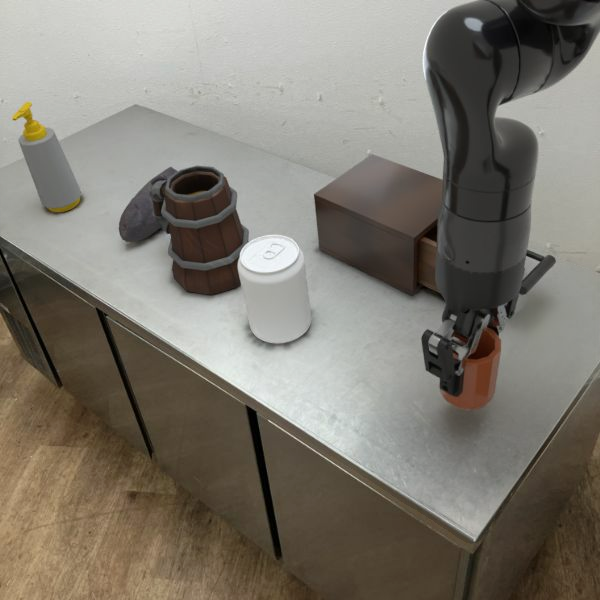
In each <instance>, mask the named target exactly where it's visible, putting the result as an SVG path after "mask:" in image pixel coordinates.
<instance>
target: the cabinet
mask: <svg viewBox="0 0 600 600" xmlns="http://www.w3.org/2000/svg"><path fill="white" fill-rule="evenodd" d="M442 182H443V178H442V179H441V178H439V177H436V176H434V175H431V174H428V173H426V172H423V171H420V170H417V169H415V168H412V167H409V166H406V165H404V164H401V163H398V162H395V161H393V160H390V159H387V158H384V157H382V156H378V155H376V154H373V153H371V154H370V155H368V156H367V157H365V158H363V160H361V161H359V162H358V163H356V164H355V165H354V166H353V167H351V168H349V169H348V170H347V171H345V172H344V173H342V174H341V175H340V176H338V177H336V178H335V179H333V180H332V181H331V182H330V183H327V184H326V185H325V186H323V187H322V188H320V189H319V190H318V191H316V192H314V194H313V198H314V209H315V210H314V211H315V219H316V231H317V240H318V250H319V251H321V252H322V253H325V254H327V255H329V256H331V257H333V258H335V259H336V260H339V261H340V262H343V263H345V264H347V265H349V266H351V267H353V268H355V269H357V270H359V271H361V272H363V273H365V274H367V275H369V276H371V277H372V278H375V279H377V280H379V281H381V282H384V284H387V285H389V286H392V287H394V288H395V289H397V290H400V291H401V292H403V293H405V294H407V295H410V296H411V297H413V296H415V295H416V294H417V293H418V292H419V291H421V289H422V288H423V287H425V286H424V285H422V284H420V283H418V282H417V259H418V240H419V239H420V238H421V237H422V236H423V235H425V234H426V233H427V232H428V231H429V230H431V229H432V228H433V227H434V226H435V225H437V223H438V215H439V210H440V205H441V199H442Z"/></svg>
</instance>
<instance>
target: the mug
mask: <svg viewBox="0 0 600 600" xmlns="http://www.w3.org/2000/svg"><path fill="white" fill-rule="evenodd" d="M177 171H178V172H176V173H175V174H174V175H172V176H171V177H169V178H168V180H167V181H166V180H164V181H162V180H160V181H158V182H156V183H154V184H153V185H152V187H151V191H150V194H149V197H150V198H151V199H152V201H153V207H154V211H153V214H152V215H153V217H154V219H155V221H156V222H157V224H158V225H159V226H160V227H161V228H160V229H161V230H163V232H164V233H165V234H166V235H170V240H169V244H168V248H167V255H168V256H169V257H170V258H171V259H172V265H171V272H172V275H173V278H174V280H175V281H176V282H177V283H178V284H179V285H180V286H181V287H182V288H183V289H184V290H185V291H186V292H189V293H195V294H196V293H197V294H204V295H211V296H213V295H214V294H219V293H222V292H225V291H229V290H232V289H235V288H238V287H239V286H241V282H240V277H239V272H238V260H239V258H240V252H241V250H242V248H243V247H244V246H245V245H246V244H247V243H248V242H250V241H249V236H250V231H249V229H248V228H247V227H246V226H245V225H243V224H242V222H241V219H240V217H239V213H238V210H237V203H238V191H236V190H235V189H234V188H233V187H231V186H230V185H229V182H228V179H227V177H226V176H225V174H224V173H223V172H221V171H220V170H219V169H217V168H216V167H214V166H209V165H194V166H190V167H185V168H182V169H179V170H177Z"/></svg>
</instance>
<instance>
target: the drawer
mask: <svg viewBox="0 0 600 600" xmlns="http://www.w3.org/2000/svg"><path fill="white" fill-rule="evenodd" d="M436 246H437V225H435V226H434V227H433V228H432V229H431V230H429V231H428V232H427V233H426V234H425V235H423V236H422V237H421V238H420V239H419V240H418V259H417V282H418V283H420V284H422V285H424V286H423V287H426V288H428V289H430V290H432V291H434V292H437V293H438V294H441V293H440V291H439V289H438V287H437V285H436V281H435V269H436ZM527 257H528V258H529V259H532V260H534V261H537V262H538V264H537V265H535V267H533V269H532V270H531V271H530V272H529V273H528V274H527V275H526V276H525V277H523V280H522V285H521V288H520V292H519V295H522V296H524V295H527V294H528V293H529V292H530V291H531V289H533V288H534V286H535V285H537V283H538V282H540V280H541V279H542V278H543V277H544V276H545V275H546V274H547V273H548V272H549V271H550V269H552V267H553V266H555V264H556V262H557V259H556V257H554V256H553V255H552V254H547V255H546V256H544V255H542V254H540V253H537V252H534V251H532V250H530V249H527V254H526V258H527Z"/></svg>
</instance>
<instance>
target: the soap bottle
mask: <svg viewBox="0 0 600 600" xmlns="http://www.w3.org/2000/svg"><path fill="white" fill-rule="evenodd" d="M32 106H33V103H32V102H31V101H26V102H25V103H23V104H22V105H21V107H20V108H19V109H18V110H17V111H16V112H15V113H14V114H13V116H12V117H11V119H12V121H17V120H18V119H20V118H23V119H24V120H25V121H26V122H24V124H23V128H24V129H23V131H22V134H21V135H20V136H19V138H18V139H17V140H18V144H19V147H20V149H21V152H22V154H23V157H24V161H25V162H26V166H27V168H28V171H29V173H30V176H31V178H32V181H33V184H34V186H35V189H36V192H37V194H38V198H39V201H40V203H41V205H42V206H44V207H45V208H47V210H49V211H50V212H52V213H64V212H67V211H70V210H72V209H74V208H76V207H77V206H78V205H79V204H80V201H81V196H82V190H81V188H80V185H79V183H78V181H77V178H76V176H75V174H74V172H73V170H72V167H71V165H70V163H69V161H68V158H67V157H66V153H65V151H64V150H63V147H62V145H61V143H60V141H59V139H58V136H57V134H56V132H55V130H54V129H52V128H50V127H46V126H45V125H43V124H40V123H39V120H36V119H33V117H34V115H33V113H32V110H31V107H32Z"/></svg>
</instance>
